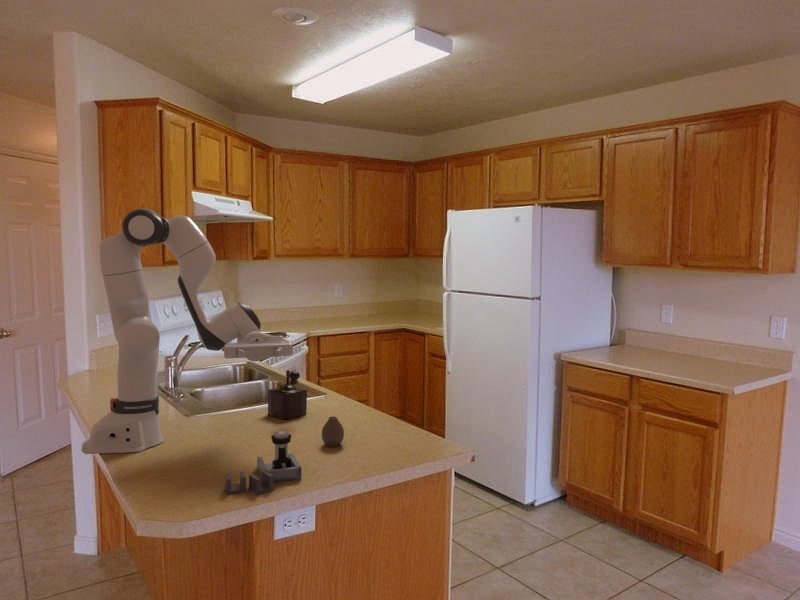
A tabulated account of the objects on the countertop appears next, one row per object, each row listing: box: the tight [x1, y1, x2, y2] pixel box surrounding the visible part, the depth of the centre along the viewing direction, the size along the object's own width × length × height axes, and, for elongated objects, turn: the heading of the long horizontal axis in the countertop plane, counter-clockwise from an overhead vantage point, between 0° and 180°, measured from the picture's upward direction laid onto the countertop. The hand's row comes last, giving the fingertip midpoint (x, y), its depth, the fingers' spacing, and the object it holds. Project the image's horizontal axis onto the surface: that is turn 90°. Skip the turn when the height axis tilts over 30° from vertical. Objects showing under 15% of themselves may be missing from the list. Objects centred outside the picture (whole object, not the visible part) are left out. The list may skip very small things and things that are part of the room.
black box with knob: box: [267, 369, 308, 421], centre depth 209 cm, size 16×11×18 cm
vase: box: [321, 416, 345, 448], centre depth 179 cm, size 7×7×9 cm
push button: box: [268, 430, 292, 470], centre depth 156 cm, size 7×5×10 cm
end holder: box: [256, 453, 302, 484], centre depth 155 cm, size 10×12×3 cm
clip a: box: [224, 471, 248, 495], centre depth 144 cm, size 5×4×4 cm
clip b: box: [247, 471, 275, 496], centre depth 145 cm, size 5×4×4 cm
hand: (262, 354), depth 167 cm, fingers open, 8 cm apart
